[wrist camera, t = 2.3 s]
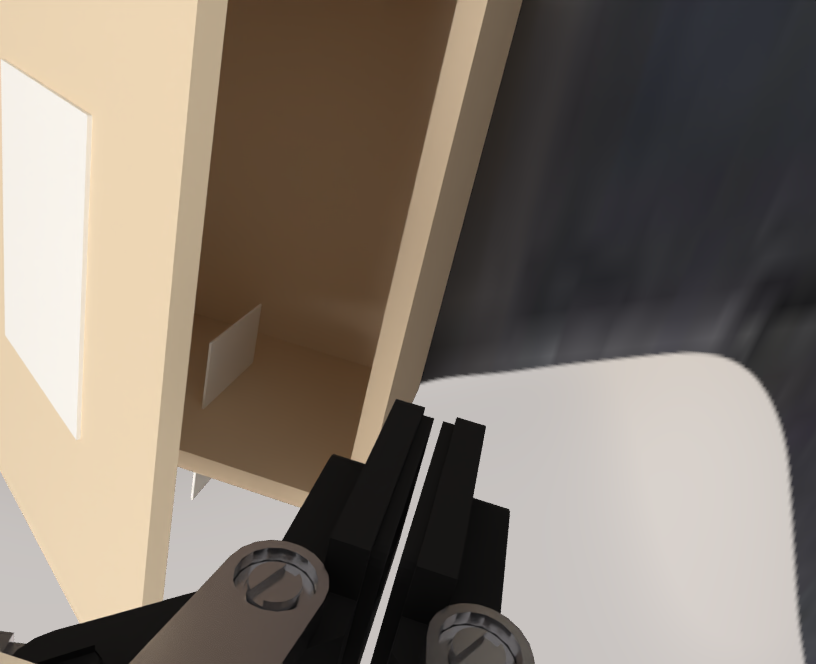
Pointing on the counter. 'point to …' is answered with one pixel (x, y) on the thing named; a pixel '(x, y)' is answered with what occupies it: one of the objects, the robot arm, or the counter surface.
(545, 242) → the counter surface
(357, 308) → the carton
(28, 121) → the lid flap
